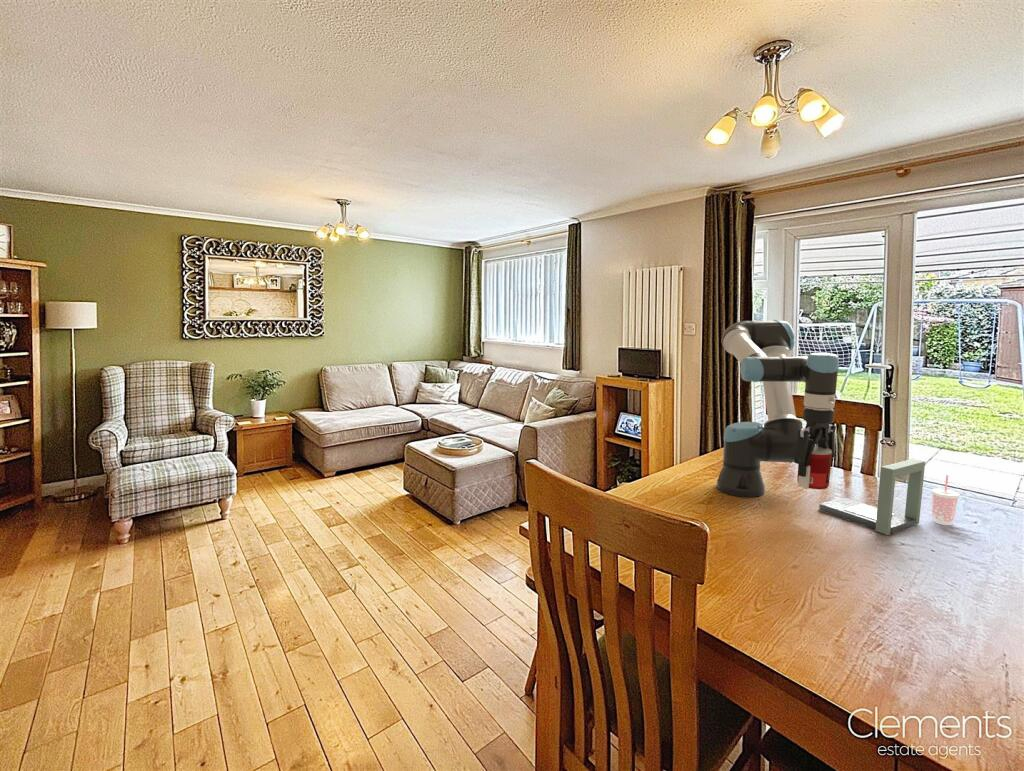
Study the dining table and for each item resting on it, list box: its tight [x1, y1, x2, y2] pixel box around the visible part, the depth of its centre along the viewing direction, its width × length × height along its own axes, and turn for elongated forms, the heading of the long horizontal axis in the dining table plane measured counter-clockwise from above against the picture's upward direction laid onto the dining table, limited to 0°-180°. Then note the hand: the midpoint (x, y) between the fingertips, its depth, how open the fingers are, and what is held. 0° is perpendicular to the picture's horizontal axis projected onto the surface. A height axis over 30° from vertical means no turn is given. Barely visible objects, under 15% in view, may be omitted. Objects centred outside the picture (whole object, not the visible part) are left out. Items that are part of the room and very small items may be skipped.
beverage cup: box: [931, 474, 961, 526], centre depth 143 cm, size 6×6×14 cm
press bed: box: [818, 496, 916, 535], centre depth 148 cm, size 20×12×2 cm, turn 26°
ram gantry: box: [874, 458, 926, 536], centre depth 139 cm, size 3×16×18 cm, turn 116°
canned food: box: [796, 445, 832, 490], centre depth 145 cm, size 8×8×11 cm
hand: (812, 483), depth 146 cm, fingers closed on canned food, 8 cm apart
